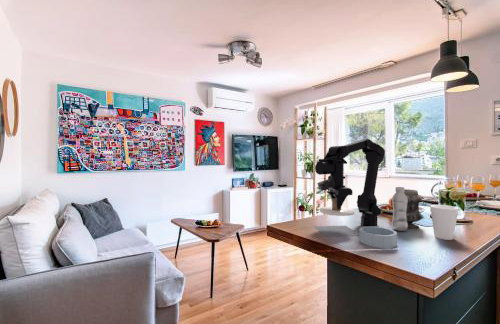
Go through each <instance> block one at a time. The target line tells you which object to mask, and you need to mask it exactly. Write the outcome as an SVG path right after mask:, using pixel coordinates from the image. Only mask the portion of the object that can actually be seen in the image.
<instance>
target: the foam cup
mask: <svg viewBox="0 0 500 324" xmlns="http://www.w3.org/2000/svg"><path fill="white" fill-rule="evenodd" d="M429 212H430V213H431V219H432V220H431V221H432V229H433V235H434V237H435V238H437V239H440V240H446V241H448V240H449V241H452V240H454V236H455V232H456V231H455V230H456V226H457V219H458V215H459V207H457V206H454V205H453V206H452V205H446V204H430V211H429Z"/></svg>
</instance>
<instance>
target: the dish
mask: <svg viewBox="0 0 500 324" xmlns="http://www.w3.org/2000/svg"><path fill="white" fill-rule="evenodd" d="M359 234H360V236H359V242H360V243H362V244H364V245H366V246H370V247H373V248H375V249H377V250H394V249H395V248H396V247H397V246H398V232H397V230H394V229H391V228H388V227H383V226H379V227H375V226H361V227H359Z"/></svg>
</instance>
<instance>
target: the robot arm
mask: <svg viewBox="0 0 500 324" xmlns="http://www.w3.org/2000/svg"><path fill="white" fill-rule="evenodd" d="M360 150H361V152H362V153H363V154H365V156H364V158H365V161H366V162H367V167H366V172H365V179H364V185H363V191H362V193H361V194H358V195H357V200H356V207H357V209H358V212H359V213H361V215H360V225H361V226H362V227H365V226H375V227H380V226H379V225H378V217H379V216H380V215H381V213H382V209H380V207H379V206H378V199H377V197H376V195H375V193H376V187H377V185H376V184H377V181H378V180H377V179H378V173H379V166H380V165H381V163H382V162H383V160H384V159H385V155H386V151H385V149H384V147H382V146H381V145H380V144H379V143H376V142H374V141H372V140H371V139H370V138H369V139H368V138H364V139H360V140H356V141H353V142H350V143H347V144H345V145H334V146H333V145H332V146H330V147H329V148H328V151H327V152H326V155H325V156H324V157H323V158H318V161H317V162H316V164H315V166H314V170H315V173H316V174H317V175H328V176H327V177H328V178H327V179H324V180H322V181H319V182H317V183H316V184H317V187H318V189H319V190H320V191H326V194H328V195H329V196H330V200H331V201H332V198H336V203H337V209H340V208H341V207H343V205H344V202H345V200H346V199H347V197H348V196H353V189H351V188H350V187H348V186H347V187H346V185H345V184H344V181H345V180H346V176H345V174H344V169H345V166H344V164H345V165H346V164H348V161H346V160H345V158H347V157H348V156H350V154H352V153H355V152H357V151H360Z"/></svg>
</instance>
